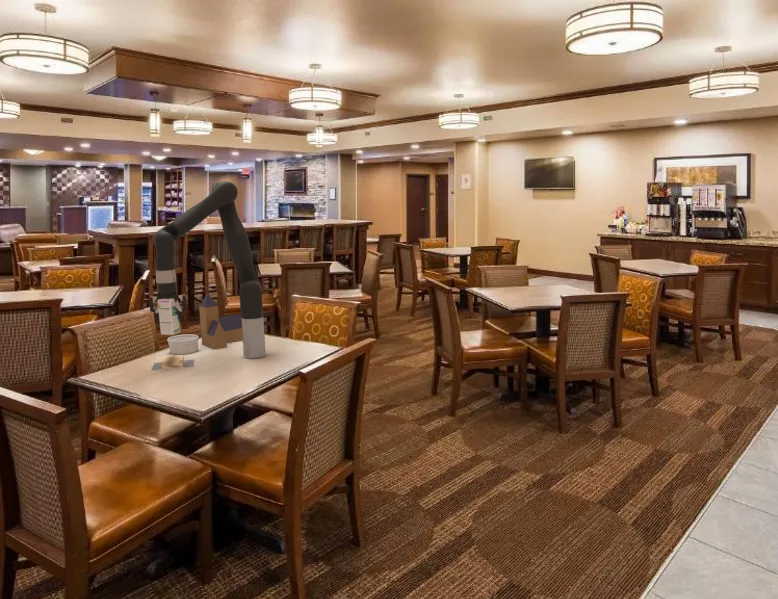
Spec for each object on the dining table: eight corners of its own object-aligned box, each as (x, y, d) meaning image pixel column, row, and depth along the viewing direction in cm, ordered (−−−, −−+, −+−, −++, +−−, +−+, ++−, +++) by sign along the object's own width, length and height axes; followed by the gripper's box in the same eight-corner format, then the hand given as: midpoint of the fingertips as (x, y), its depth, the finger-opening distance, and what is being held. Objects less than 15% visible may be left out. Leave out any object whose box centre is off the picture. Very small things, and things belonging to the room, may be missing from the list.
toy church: (202, 345, 279) (198, 292, 275) (238, 338, 292) (234, 288, 288) (214, 349, 270) (210, 295, 266) (251, 342, 283) (247, 290, 278)
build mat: (194, 360, 252) (194, 359, 252) (193, 368, 241) (193, 366, 241) (154, 364, 248) (154, 362, 247) (151, 371, 237) (151, 370, 237)
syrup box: (173, 335, 238) (170, 299, 235) (160, 334, 239) (157, 299, 236) (181, 331, 243) (178, 297, 241) (168, 331, 244) (165, 296, 242)
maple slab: (184, 361, 248) (183, 355, 248) (182, 367, 241) (182, 359, 240) (163, 363, 246) (163, 356, 246) (161, 368, 239) (161, 361, 238)
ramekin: (197, 355, 261) (196, 340, 260) (165, 357, 259) (164, 341, 257) (201, 348, 274) (200, 333, 272) (171, 349, 272) (170, 335, 270)
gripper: (185, 278, 243) (188, 318, 246) (148, 280, 239) (152, 320, 242) (184, 281, 236) (187, 321, 239) (146, 283, 232) (149, 324, 235)
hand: (169, 321), depth 240 cm, fingers closed on syrup box, 7 cm apart
